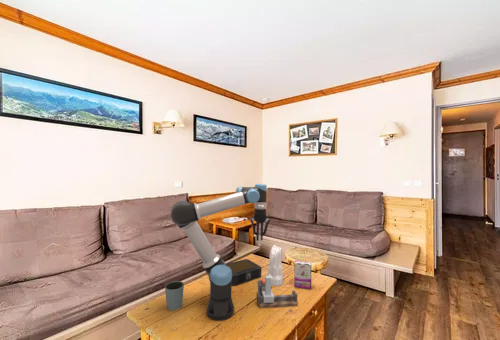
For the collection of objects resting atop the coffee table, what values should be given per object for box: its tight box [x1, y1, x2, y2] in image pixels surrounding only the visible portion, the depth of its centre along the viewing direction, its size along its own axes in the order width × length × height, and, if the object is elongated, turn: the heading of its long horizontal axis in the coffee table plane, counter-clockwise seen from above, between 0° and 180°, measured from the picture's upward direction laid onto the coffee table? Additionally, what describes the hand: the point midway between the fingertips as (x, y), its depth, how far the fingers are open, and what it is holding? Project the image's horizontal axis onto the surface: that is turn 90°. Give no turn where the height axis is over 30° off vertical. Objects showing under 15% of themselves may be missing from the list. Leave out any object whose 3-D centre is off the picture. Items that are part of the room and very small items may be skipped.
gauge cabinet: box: [257, 279, 265, 296], centre depth 145 cm, size 7×6×8 cm
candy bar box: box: [293, 260, 312, 290], centre depth 156 cm, size 11×5×16 cm, turn 76°
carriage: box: [262, 275, 274, 303], centre depth 136 cm, size 6×6×14 cm
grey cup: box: [164, 280, 185, 311], centre depth 132 cm, size 10×10×12 cm
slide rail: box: [256, 290, 298, 309], centre depth 137 cm, size 23×8×6 cm, turn 98°
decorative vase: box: [267, 244, 284, 287], centre depth 162 cm, size 11×11×25 cm
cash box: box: [225, 258, 262, 287], centre depth 170 cm, size 25×20×8 cm
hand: (259, 245), depth 147 cm, fingers closed
